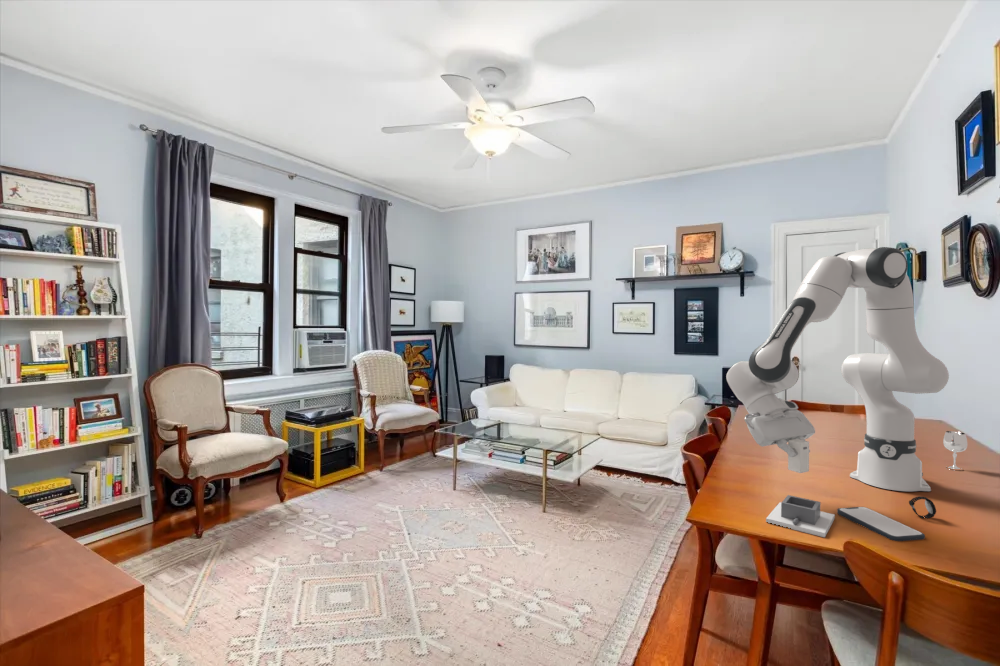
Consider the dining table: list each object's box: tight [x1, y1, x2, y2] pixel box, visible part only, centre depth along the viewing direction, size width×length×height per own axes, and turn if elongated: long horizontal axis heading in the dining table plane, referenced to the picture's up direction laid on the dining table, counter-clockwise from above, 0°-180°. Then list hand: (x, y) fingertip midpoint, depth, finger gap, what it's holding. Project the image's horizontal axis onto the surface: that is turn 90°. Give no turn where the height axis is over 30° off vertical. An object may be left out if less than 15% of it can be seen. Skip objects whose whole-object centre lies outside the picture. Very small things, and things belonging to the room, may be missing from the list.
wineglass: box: [942, 430, 968, 469], centre depth 158 cm, size 6×6×12 cm
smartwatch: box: [908, 496, 937, 519], centre depth 120 cm, size 4×5×5 cm
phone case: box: [836, 506, 926, 542], centre depth 115 cm, size 9×2×16 cm
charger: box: [787, 439, 810, 474], centre depth 128 cm, size 3×4×8 cm
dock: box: [765, 494, 836, 538], centre depth 118 cm, size 14×12×4 cm
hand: (800, 454), depth 128 cm, fingers closed on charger, 3 cm apart
